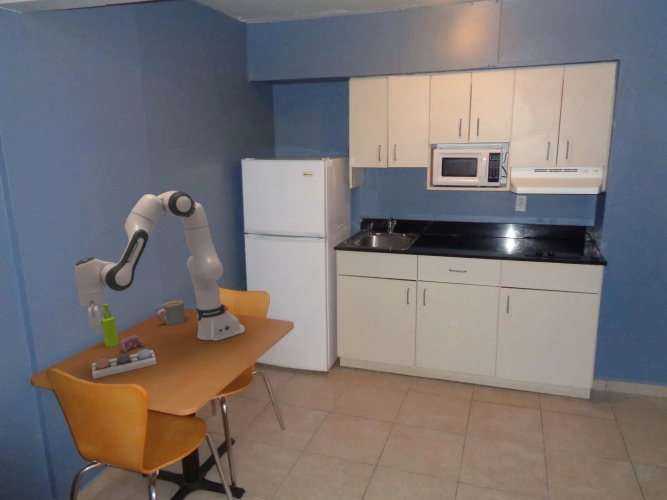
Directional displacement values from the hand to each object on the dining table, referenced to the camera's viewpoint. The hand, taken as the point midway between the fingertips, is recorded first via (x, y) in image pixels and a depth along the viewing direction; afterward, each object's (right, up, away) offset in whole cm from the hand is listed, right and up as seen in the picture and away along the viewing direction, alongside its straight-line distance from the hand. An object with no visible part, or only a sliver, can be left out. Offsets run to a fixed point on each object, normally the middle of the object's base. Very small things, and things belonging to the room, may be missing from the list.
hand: (97, 331), depth 195 cm
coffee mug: (+11, -5, +58) cm, 59 cm away
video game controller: (+4, -13, +25) cm, 28 cm away
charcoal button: (+8, -14, +7) cm, 17 cm away
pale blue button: (+15, -13, +10) cm, 22 cm away
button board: (+8, -16, +7) cm, 19 cm away
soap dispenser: (-9, -12, +32) cm, 35 cm away
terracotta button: (+1, -15, +3) cm, 16 cm away
